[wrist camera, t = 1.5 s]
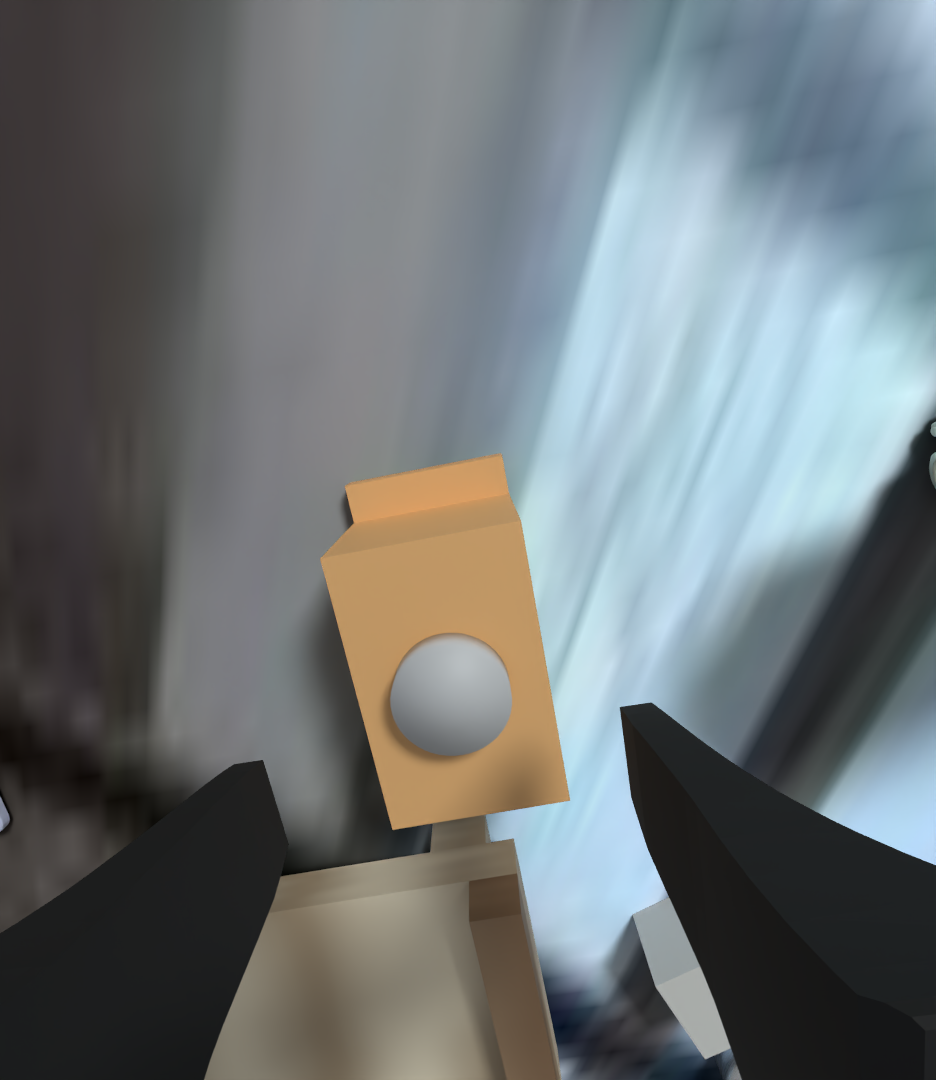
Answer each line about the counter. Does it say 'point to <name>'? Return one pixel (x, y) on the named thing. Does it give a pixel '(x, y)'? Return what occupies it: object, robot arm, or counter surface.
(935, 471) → the pneumatic valve
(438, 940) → the stand
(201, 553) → the counter surface
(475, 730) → the housing
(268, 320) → the counter surface
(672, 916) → the rubber block
